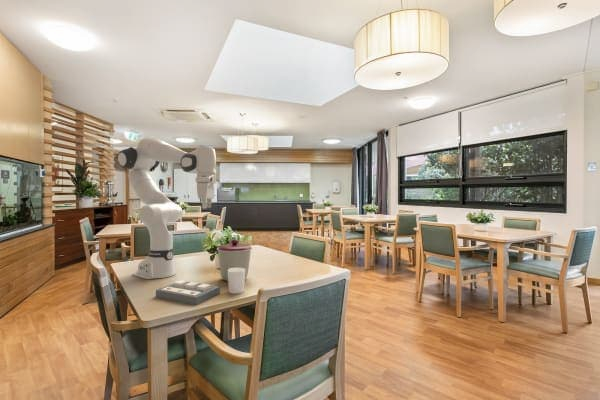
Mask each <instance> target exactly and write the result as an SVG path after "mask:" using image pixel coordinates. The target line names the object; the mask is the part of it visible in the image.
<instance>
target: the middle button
mask: <svg viewBox="0 0 600 400" xmlns="http://www.w3.org/2000/svg"><path fill="white" fill-rule="evenodd" d="M189 282H190V283H187V284H185V288H187V289H194V288H197V286H199V284H200V283H199V282H194V281H189Z"/></svg>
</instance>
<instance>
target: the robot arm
mask: <svg viewBox="0 0 600 400" xmlns="http://www.w3.org/2000/svg"><path fill="white" fill-rule="evenodd" d="M117 163H118V164H119V166H120V167H121V168H122V169H127V170H129V172H128V175H127V178H128V180H129V183H130V184H131V187H132V188H133V190H134V192H135V194H136V196H137V197H138V198H139V200H140V201H141V203H143V204H144V205H143V206H141V207H140V209H139V211H138V218H139V220H140V222H141V223H143V224H144V225H145V226H146V228H147V230H148V233H149V242H150V243H149V244H150V245H149V246H150V249H148V250H147V251H146V254H147V256H146V257H145V258H144V259H142V260H141V261H140V262H139V263H138V264H137V265H138V266H137V270H136V271H134V272H132V275H133V276H135V277H139V278H142V279H145V280H151V279H163V278H170V277H172V276H175V275H176V268H175V260H174V259H175V258H174V253H175V251H174V250H175V249H174V248H173V247H174V243H173V242H174V241H173V240H174V239H173V238H174V234H173V233H172V232H171V231H169V230H168V226H167V224H170V223H174V222H177V221H179V220H180V219H181V218H182V216H183V209H182V206H180V205H179V204H177V203H176V202H173V200H171V199H170V198H168V197H167V196H166V195H165V193H163V192H162V191H161V189H160V188H159V187H158V184H156V182H155V180H154V179H153V178H152V176H151V174H150V172H154V171H155V170H156V169H157V168H158V167H159V165H160V163H167V164H169V163H172V164H173V163H174V164H180V168H181V169H182V171H183V172H186V173H189V174H196V177H195V183H196V194H197V198H198V200H199V199H201V209H203V210H205V209H210V208H211V207H212V202H213V199H214V198H215V184H217V171H216V167H217V153H216V150H215V148H214V147H212V146H209V145H208V146H207V145H198V146H197V147H196V149H195V150H192V151H191V152H187V151H184V150H183V149H180V148H178V147H177V146H174V145H172V144H170V143H168V142H166V141H163V140H161V139H157V138H153V137H144V138H141V139H140V140H139V141H138V144H137V147H132V146H130V147H128V148H125V149H121V150H120V151H119V153H118V154H117Z"/></svg>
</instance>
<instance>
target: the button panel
mask: <svg viewBox="0 0 600 400" xmlns="http://www.w3.org/2000/svg"><path fill="white" fill-rule="evenodd" d="M190 282H191V281H187V283H190ZM201 284H202V283H199V285H201ZM209 285H210V289H209V290H206V291H199V290H197V288H194V289H187V288H185V286H183V287H175V286H174V283H172V284H169V285H166V286H163V287H160V288H157V289H156V290H155V298H158V299H159V298H160V299H164V300H169V301H173V302H175V301H176V302H179V303H185V304H190V305H195V306H198V305H199V304H202V303H203V302H205V301H207V300H209V299H212V298H213V297H215V296H217V295H220V294H221V287H220V286H217V285H211V284H209Z"/></svg>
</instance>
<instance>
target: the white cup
mask: <svg viewBox="0 0 600 400" xmlns="http://www.w3.org/2000/svg"><path fill="white" fill-rule="evenodd" d="M245 281H246V278H245V269H244V268H231V269H228V281H227V284H228V292H229V293H230V294H235V295H236V294H241V293H243V292H244V291H245Z"/></svg>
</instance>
